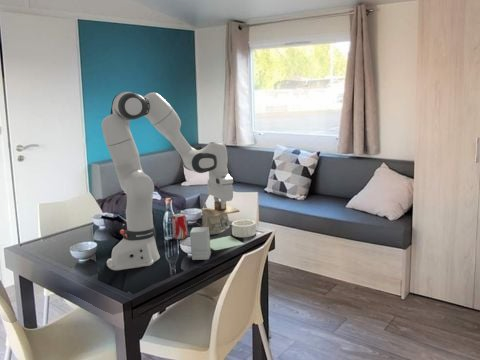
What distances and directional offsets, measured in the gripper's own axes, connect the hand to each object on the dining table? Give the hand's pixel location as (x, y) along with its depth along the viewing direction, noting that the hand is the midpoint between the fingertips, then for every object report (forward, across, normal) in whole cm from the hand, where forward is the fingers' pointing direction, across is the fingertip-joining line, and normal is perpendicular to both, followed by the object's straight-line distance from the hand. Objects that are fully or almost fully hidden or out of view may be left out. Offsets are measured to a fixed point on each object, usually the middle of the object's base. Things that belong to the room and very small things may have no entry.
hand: (220, 207), depth 217 cm
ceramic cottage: (+18, -22, +7) cm, 29 cm away
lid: (+2, 0, 0) cm, 2 cm away
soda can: (+18, -20, -13) cm, 30 cm away
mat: (+18, 0, 0) cm, 18 cm away
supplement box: (+18, +11, -15) cm, 26 cm away
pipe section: (+18, -6, +15) cm, 24 cm away
